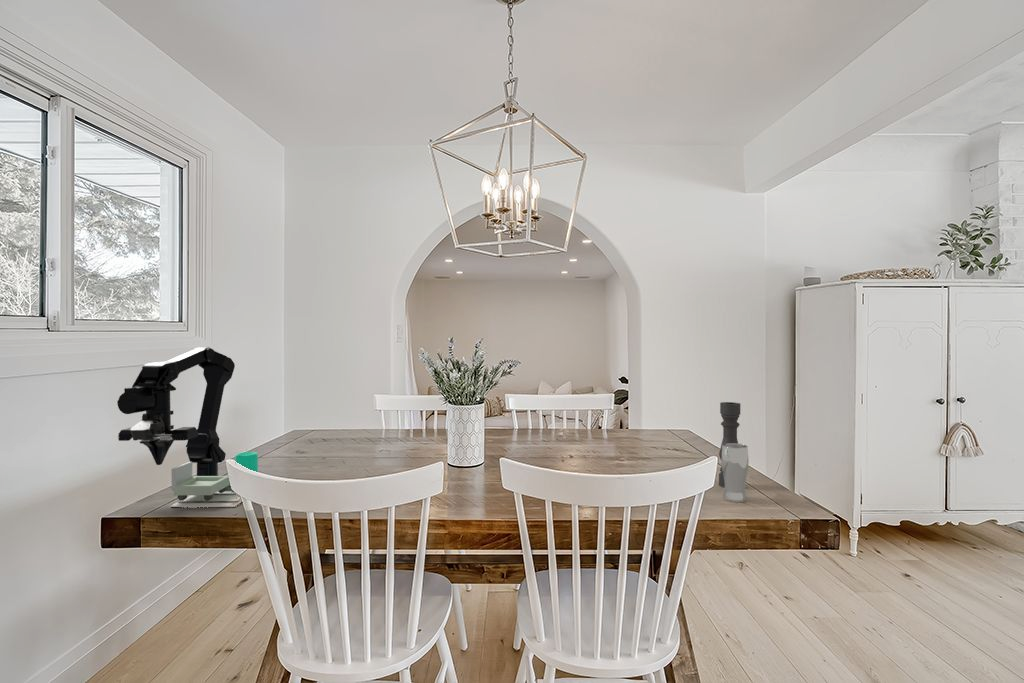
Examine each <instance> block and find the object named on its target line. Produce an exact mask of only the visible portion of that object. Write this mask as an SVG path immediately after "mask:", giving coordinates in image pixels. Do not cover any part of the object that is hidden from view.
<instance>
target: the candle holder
mask: <svg viewBox="0 0 1024 683" xmlns="http://www.w3.org/2000/svg"><path fill="white" fill-rule="evenodd" d="M719 404H720V406H719V407H720V408H719V413H720V416H721V418H722V420H723V421H722V422H720V425H721V426H722V430H723V431H722V435H723V436H722V441H721V445H720V449H719V453H718V456H719V458H720V460H721V461H722V445H723V444H725V443H737V444H739V441H738V440H739V439H738V428H739V427H740V423H739V422H738V420H739V418H740V415H741V403H740V402H729V401H723V402H719ZM718 486H720V487H721V488H723V489H724V488H725V483H724V476H723V471H722V466H721V467H720V468H719V473H718Z"/></svg>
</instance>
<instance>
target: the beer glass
mask: <svg viewBox="0 0 1024 683" xmlns="http://www.w3.org/2000/svg"><path fill="white" fill-rule="evenodd" d="M721 467H722V471H723V476H724V483H725V488H724V487H723V494H722V498H723V499H724V500H725V501H727V502H733V503H745V502H746V501H747V494H746V481H747V475H748V471H749V446H748V445H746V444H742V443H738V444H737V443H725V444H723V445H722V460H721Z"/></svg>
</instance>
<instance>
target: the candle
mask: <svg viewBox="0 0 1024 683" xmlns="http://www.w3.org/2000/svg"><path fill="white" fill-rule="evenodd" d="M258 454H259V453H258V452H257V451H256V452H252V451H248V449H247V448H246V451H243V452H240V453H236V455H235V456H234V457H235V463H236V462H237V463H239V464H241V465H242V466H244V467H246V468H248V469H250V470H253V471H256V472H258V473H259V463H258V462H259V460H258V459H259V458H258V457H259V455H258Z"/></svg>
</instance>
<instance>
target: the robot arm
mask: <svg viewBox="0 0 1024 683" xmlns="http://www.w3.org/2000/svg"><path fill="white" fill-rule="evenodd" d="M235 365H236V364H235V362H234V361H233V359H232V358H231V357H230V356H229V357H228V356H227V355H224V354H222V353H220V352H218V351H215V349H213V348H211V347H209V346H208V347H207V346H206V347H201V346H200V347H195V348H193V349H192V350H190V351H187V352H185V353H183V354H180V355H177V356H175V357H173V358H171V359H169V360H163V361H162V360H161V361H154V362H148V363H146V364H143V365H142V367H141V368H142V369H140V370H141V371H140V372H139V374H138V376H137V377H136V378H135V380H134V382H133V384H132V386H131V387H124V392H122V394H121V395H119V398H118V400H117V403H116V404H117V407H118V408H117V409H119V411H120V412H121V413H123V414H125V415H131V414H137V413H142V412H145V413H142V416H141V420H140V421H138V422H137V423H136V424H135V425H133V426H132V427H127V428H125V429H121V430H120V431H119V432H118V435H117V438H118V441H119V442H121V441H122V442H124V441H125V442H129V441H131V440H133V441H139V444H140V445H141V444H142V445H144V446H146V447H147V448H148V450H149V452H150V454H151V455H152V459H153V460H154V462H155V464H156V466H160V465H161V466H162V464H163V462H164V461H165V458H166V456H167V453H168V452H169V450H170V447H171V446H172V445H173V443H174V442H175V441H179V442H180V441H187V442H186V444H185V447H186V454H187V456H188V460H189V462H192V464H196V476H219V464H220V463H223V462H224V461H225V459H226V454H227V453H226V452H225V451H224V450H223V449H222V448H221V447H220V438H219V434H218V432H217V431H216V430H217V425H218V422H219V421H218V420H219V415H220V412H221V411H220V410H221V404H222V399H223V394H224V389H225V386H226V384H227V383H228V382H229V381H230V380H231V379H232V376H233V374H234V370H235V368H236V367H235ZM197 366H198V367H200V368H202V369H203V372H202V374H203V377H204V379H205V382H206V386H205V392H204V396H203V401H202V406H201V411H200V417H199V420H198V426H197V428H196V427H195V426H183V427H182V426H181V427H179V428H175V429H174V427H175V426H174V425H173V424H171V423H172V422H171V415H174V410H171V392H174V391H176V390H177V387H175V386H174V385H172V384H171V383H173V382H174V381H175V380H177V379H178V377H179V375H180V374H181V373H183V372H184V371H187V370H189V369H191V368H193V367H197Z"/></svg>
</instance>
